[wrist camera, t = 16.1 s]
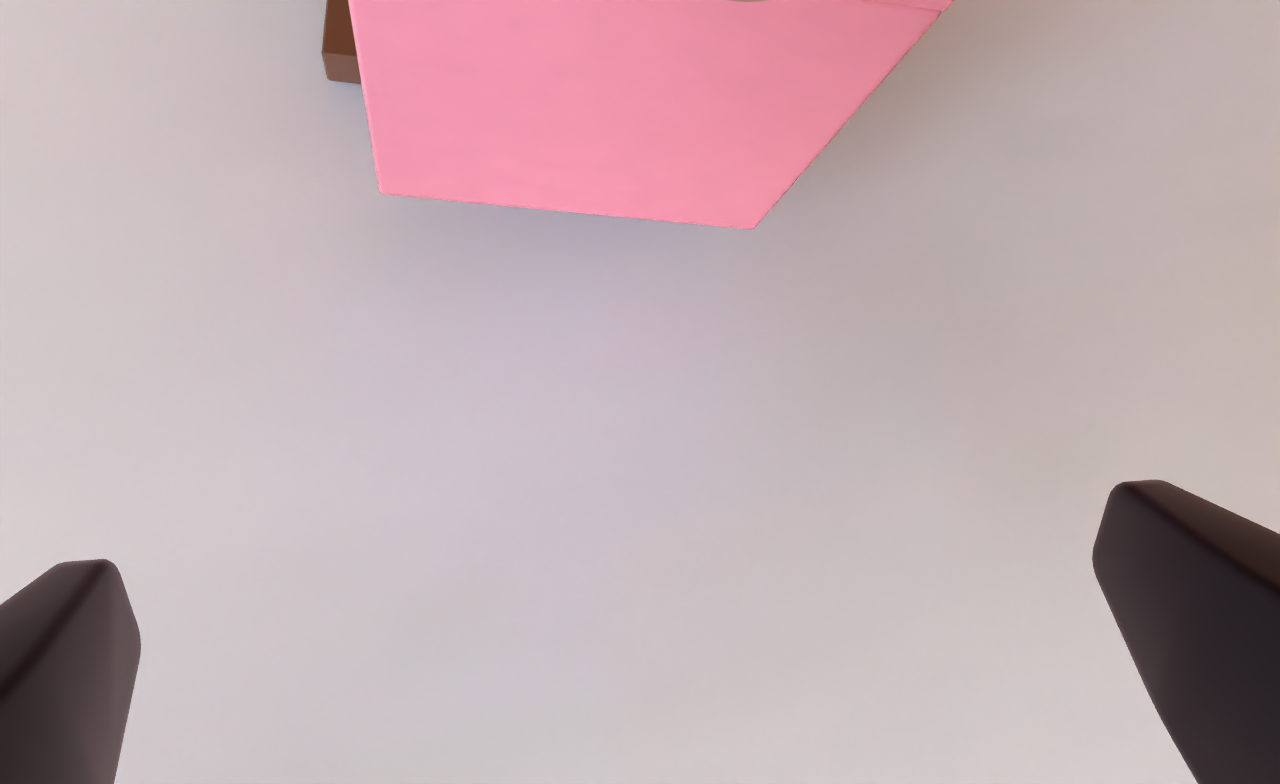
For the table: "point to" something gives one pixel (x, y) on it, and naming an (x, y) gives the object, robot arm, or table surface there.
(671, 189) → the pink tunnel block
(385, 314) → the table surface
